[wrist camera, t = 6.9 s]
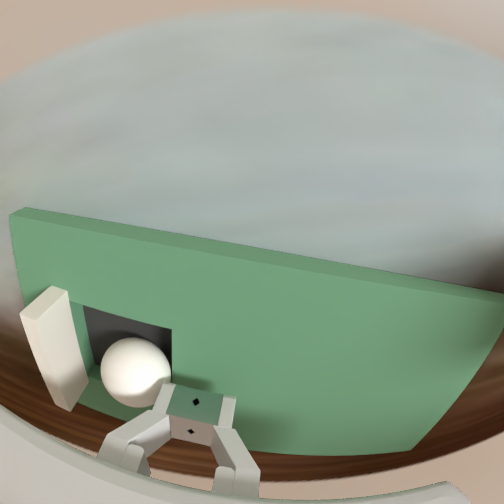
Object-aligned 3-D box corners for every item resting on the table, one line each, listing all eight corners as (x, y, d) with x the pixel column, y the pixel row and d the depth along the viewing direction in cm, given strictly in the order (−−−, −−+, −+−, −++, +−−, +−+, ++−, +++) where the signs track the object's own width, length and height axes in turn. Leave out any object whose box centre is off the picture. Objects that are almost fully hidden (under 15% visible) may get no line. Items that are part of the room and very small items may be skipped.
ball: (185, 360, 11) (109, 385, 9) (184, 406, 12) (122, 429, 10) (150, 316, 13) (86, 332, 11) (153, 363, 14) (98, 380, 12)
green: (503, 293, 11) (541, 332, 7) (406, 437, 15) (418, 477, 12) (25, 207, 11) (-28, 232, 7) (64, 381, 15) (39, 416, 12)
